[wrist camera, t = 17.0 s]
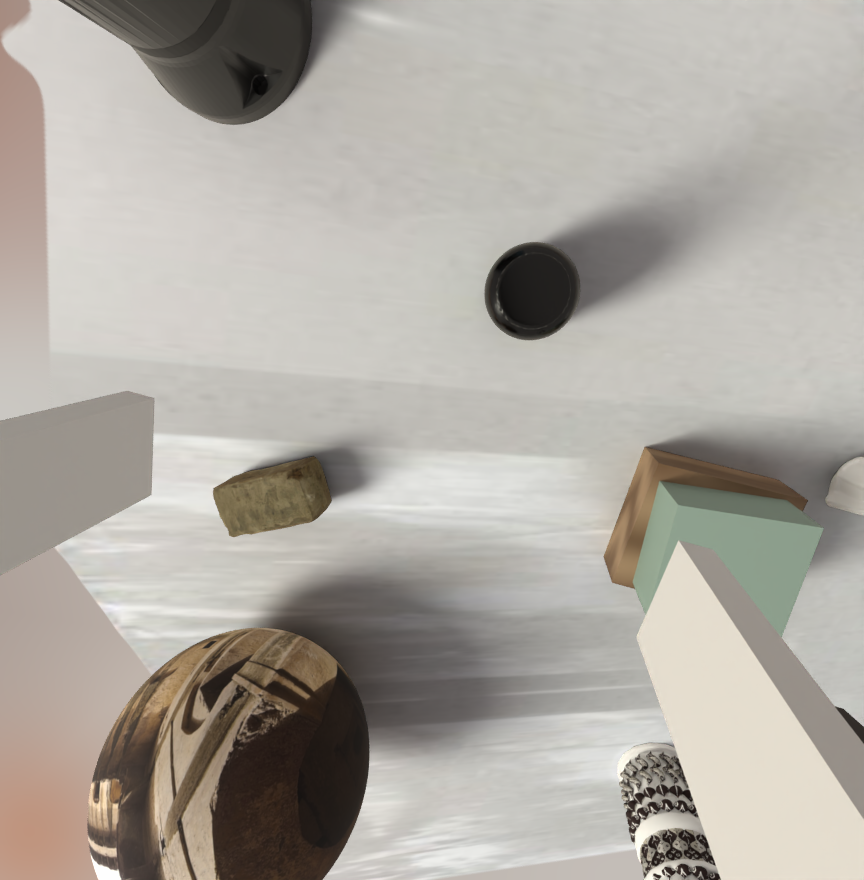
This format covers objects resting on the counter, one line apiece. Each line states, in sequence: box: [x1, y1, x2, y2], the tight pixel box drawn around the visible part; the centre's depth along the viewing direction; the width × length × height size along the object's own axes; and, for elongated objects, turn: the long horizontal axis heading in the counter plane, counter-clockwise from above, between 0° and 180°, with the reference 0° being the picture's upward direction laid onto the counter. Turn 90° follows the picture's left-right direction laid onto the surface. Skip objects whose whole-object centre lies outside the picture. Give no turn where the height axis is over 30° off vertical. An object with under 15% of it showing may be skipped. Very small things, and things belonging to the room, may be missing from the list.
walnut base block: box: [604, 447, 808, 589], centre depth 44 cm, size 12×12×5 cm
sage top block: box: [633, 481, 824, 637], centre depth 39 cm, size 10×10×5 cm
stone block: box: [213, 456, 332, 537], centre depth 49 cm, size 6×12×5 cm, turn 108°
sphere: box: [88, 628, 369, 880], centre depth 47 cm, size 25×25×25 cm
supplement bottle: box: [485, 242, 580, 340], centre depth 37 cm, size 7×7×12 cm
